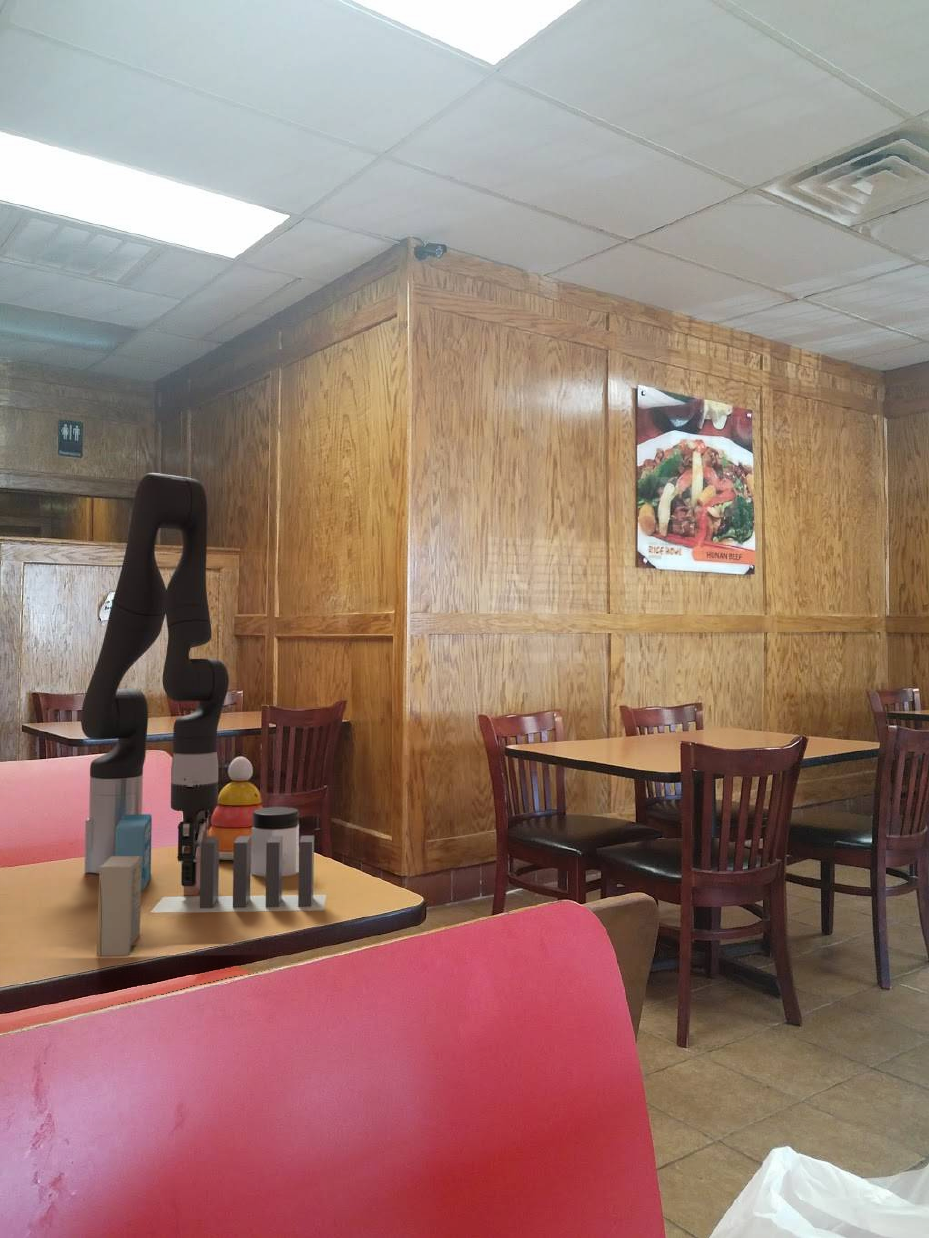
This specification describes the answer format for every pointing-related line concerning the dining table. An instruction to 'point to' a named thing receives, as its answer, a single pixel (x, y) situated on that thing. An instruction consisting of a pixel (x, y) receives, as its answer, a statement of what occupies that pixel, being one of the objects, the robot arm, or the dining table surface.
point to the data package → (136, 841)
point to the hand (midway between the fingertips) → (193, 879)
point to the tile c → (241, 871)
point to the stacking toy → (235, 808)
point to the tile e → (306, 871)
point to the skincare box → (119, 905)
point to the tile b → (209, 872)
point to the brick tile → (195, 889)
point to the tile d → (274, 871)
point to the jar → (275, 824)
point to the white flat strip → (227, 904)
